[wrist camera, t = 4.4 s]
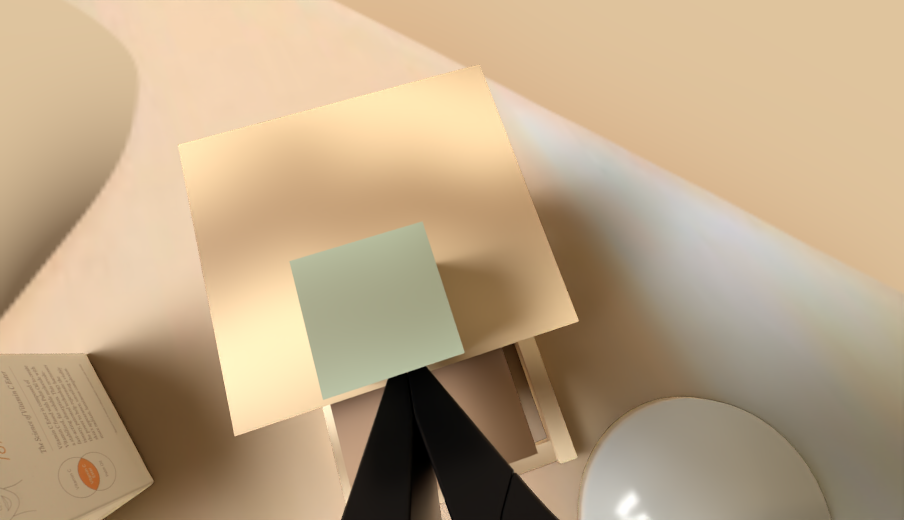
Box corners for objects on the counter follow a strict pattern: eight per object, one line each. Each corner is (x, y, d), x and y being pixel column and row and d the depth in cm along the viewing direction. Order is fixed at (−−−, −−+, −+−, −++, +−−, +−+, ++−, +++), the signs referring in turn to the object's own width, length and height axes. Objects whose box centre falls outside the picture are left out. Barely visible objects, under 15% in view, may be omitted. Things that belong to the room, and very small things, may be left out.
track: (570, 452, 21) (586, 464, 19) (359, 529, 20) (348, 551, 18) (462, 150, 25) (464, 128, 23) (279, 202, 24) (261, 185, 22)
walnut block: (491, 404, 22) (537, 453, 11) (400, 435, 21) (358, 518, 11) (461, 314, 23) (478, 279, 12) (374, 342, 22) (312, 332, 12)
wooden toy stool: (506, 338, 22) (645, 305, 7) (349, 391, 21) (121, 481, 6) (461, 207, 24) (494, -50, 9) (313, 251, 23) (63, 54, 8)
